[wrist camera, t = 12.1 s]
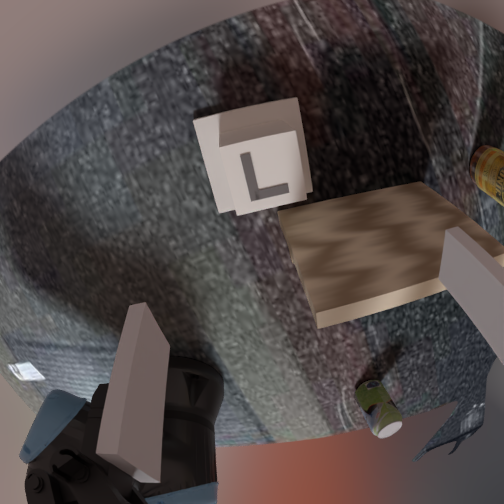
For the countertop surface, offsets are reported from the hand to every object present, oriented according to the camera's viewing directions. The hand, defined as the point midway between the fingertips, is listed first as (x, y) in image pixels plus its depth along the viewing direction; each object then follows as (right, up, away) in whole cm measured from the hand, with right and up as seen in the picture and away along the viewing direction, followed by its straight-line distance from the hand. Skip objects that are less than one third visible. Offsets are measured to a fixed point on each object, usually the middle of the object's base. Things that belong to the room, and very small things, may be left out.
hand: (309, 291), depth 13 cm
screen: (+10, +5, +23) cm, 25 cm away
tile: (-2, +11, +18) cm, 21 cm away
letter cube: (-2, +11, +17) cm, 20 cm away
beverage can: (+21, -24, +43) cm, 53 cm away
